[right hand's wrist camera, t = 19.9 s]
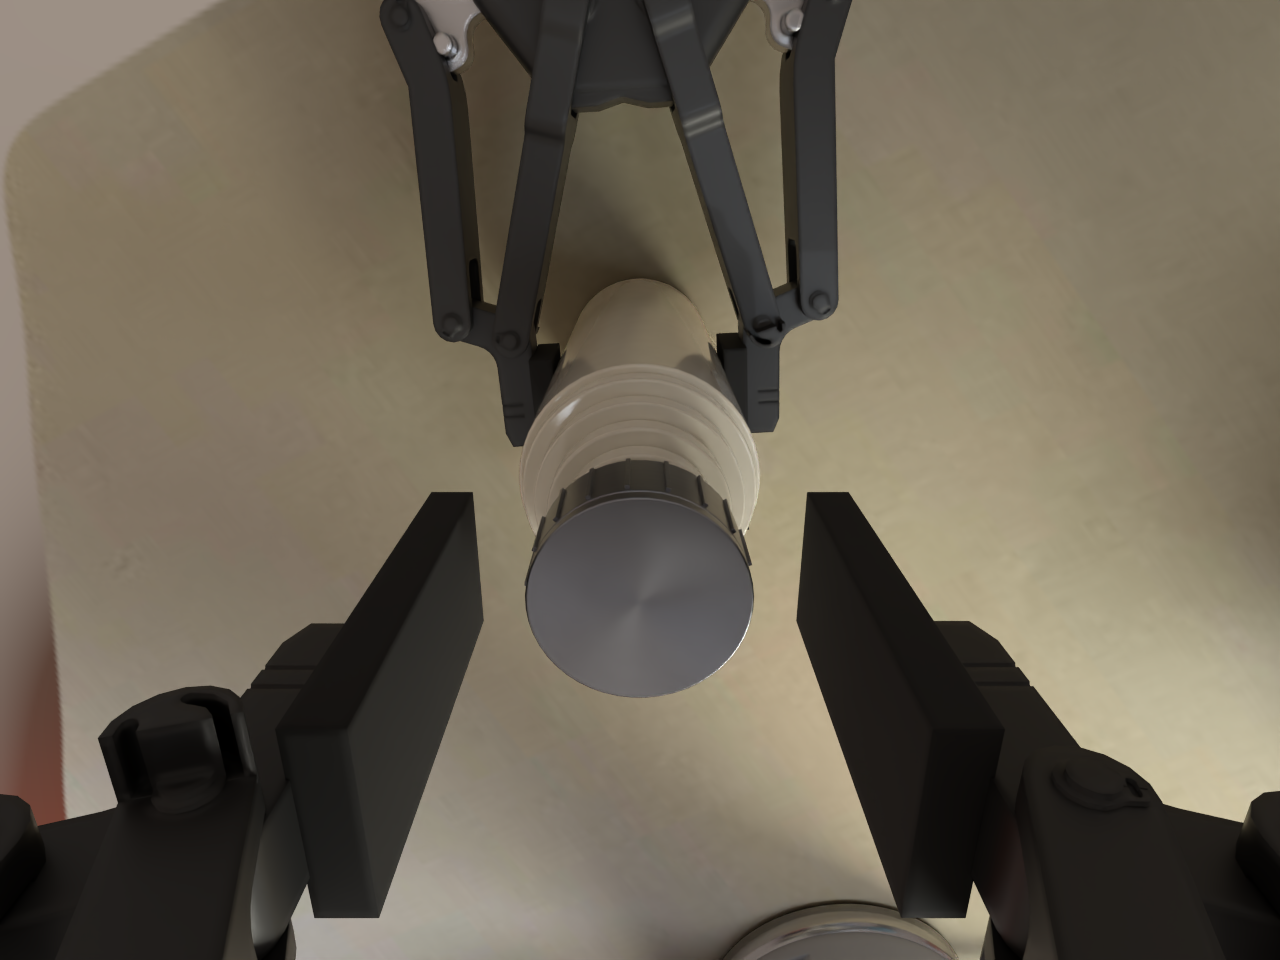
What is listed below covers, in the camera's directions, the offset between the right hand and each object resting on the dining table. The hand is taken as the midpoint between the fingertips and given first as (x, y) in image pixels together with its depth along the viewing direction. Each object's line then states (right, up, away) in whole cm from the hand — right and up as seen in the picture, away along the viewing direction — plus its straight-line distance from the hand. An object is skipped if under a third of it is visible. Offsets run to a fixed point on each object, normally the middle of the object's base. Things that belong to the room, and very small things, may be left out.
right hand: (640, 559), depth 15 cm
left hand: (0, 0, +14) cm, 14 cm away
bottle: (0, +7, +18) cm, 20 cm away
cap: (0, 0, -1) cm, 1 cm away
